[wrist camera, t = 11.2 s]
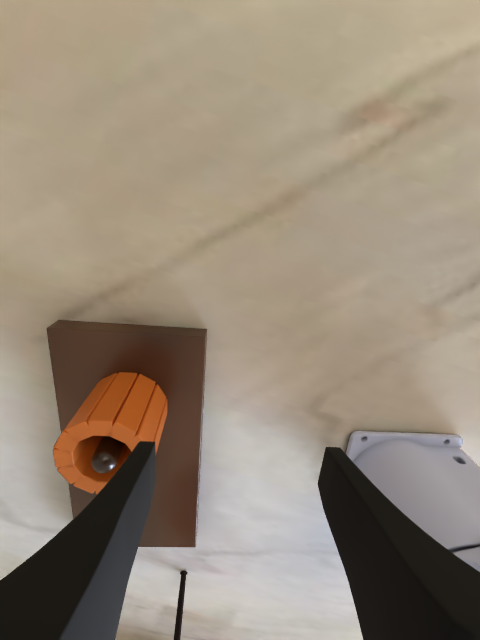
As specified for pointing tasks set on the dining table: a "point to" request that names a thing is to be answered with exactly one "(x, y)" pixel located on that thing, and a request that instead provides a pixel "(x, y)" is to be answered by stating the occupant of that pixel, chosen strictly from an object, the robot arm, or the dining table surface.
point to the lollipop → (180, 606)
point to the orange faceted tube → (110, 426)
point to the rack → (181, 421)
